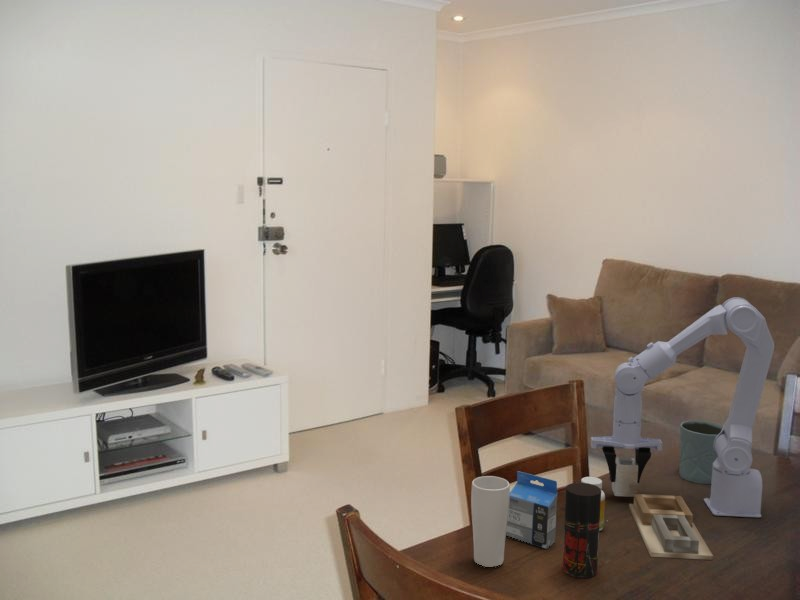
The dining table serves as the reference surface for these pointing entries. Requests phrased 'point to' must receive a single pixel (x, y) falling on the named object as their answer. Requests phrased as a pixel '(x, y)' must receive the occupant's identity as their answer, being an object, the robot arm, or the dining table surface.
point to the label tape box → (533, 510)
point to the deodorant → (581, 530)
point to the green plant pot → (697, 450)
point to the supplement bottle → (598, 483)
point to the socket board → (668, 527)
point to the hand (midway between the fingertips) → (624, 480)
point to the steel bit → (625, 477)
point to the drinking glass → (489, 519)
